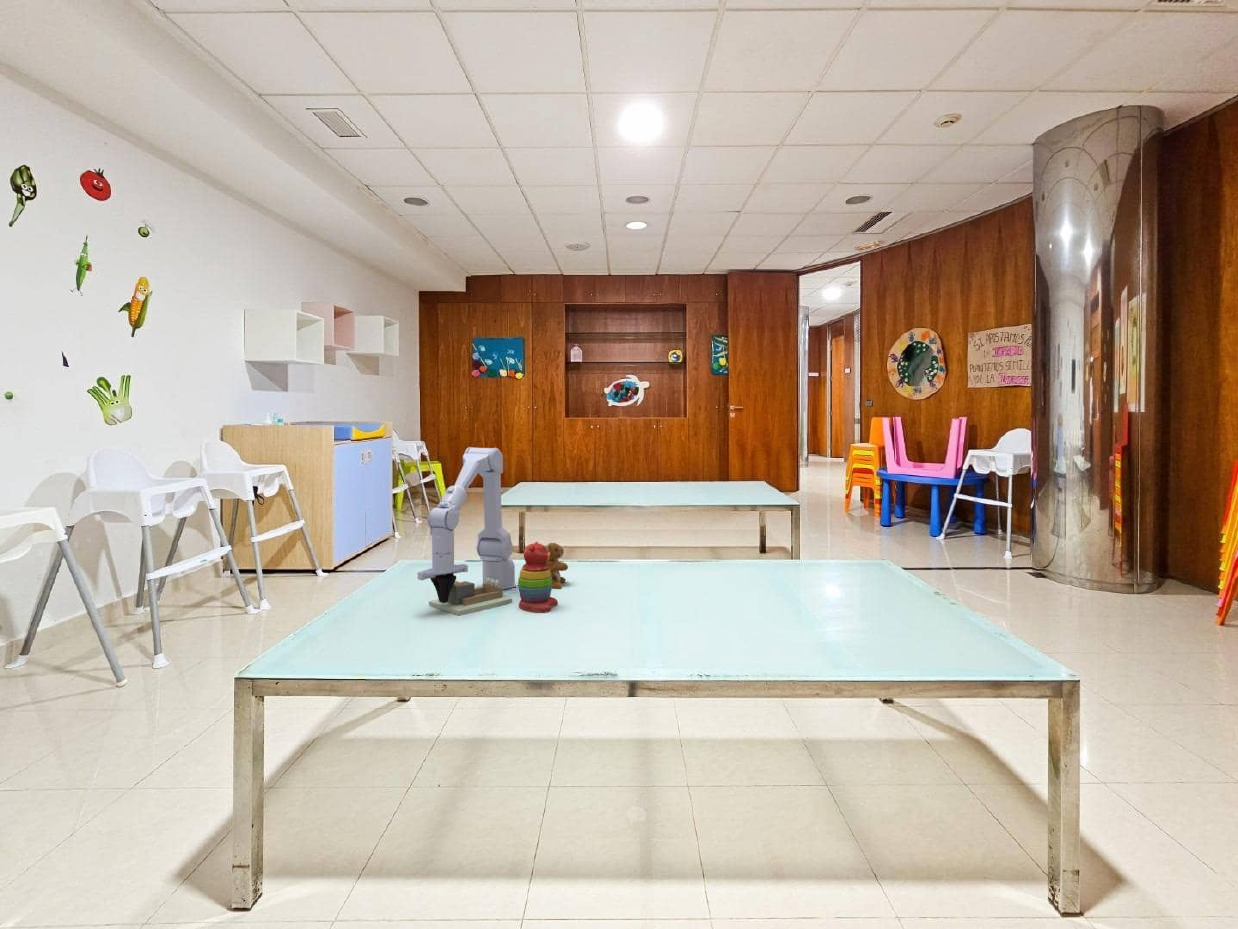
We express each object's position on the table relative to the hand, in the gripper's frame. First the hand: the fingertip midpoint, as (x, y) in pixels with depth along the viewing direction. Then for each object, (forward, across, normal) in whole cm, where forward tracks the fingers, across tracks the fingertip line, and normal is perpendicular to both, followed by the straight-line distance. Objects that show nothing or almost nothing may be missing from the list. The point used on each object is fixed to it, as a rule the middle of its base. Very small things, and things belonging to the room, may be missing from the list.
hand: (443, 602), depth 188 cm
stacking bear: (+2, -20, +15) cm, 25 cm away
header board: (+2, -9, 0) cm, 9 cm away
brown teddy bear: (+3, -39, -3) cm, 39 cm away
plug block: (+1, -6, 0) cm, 6 cm away
